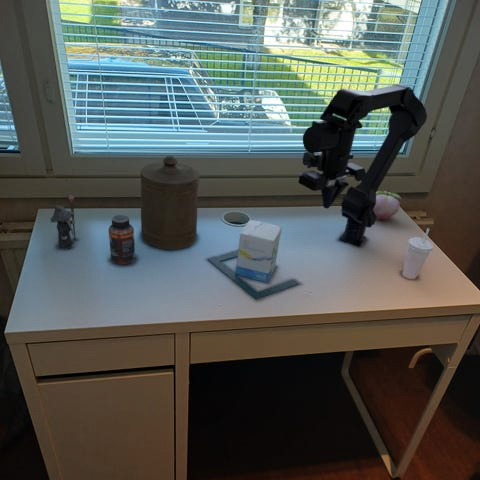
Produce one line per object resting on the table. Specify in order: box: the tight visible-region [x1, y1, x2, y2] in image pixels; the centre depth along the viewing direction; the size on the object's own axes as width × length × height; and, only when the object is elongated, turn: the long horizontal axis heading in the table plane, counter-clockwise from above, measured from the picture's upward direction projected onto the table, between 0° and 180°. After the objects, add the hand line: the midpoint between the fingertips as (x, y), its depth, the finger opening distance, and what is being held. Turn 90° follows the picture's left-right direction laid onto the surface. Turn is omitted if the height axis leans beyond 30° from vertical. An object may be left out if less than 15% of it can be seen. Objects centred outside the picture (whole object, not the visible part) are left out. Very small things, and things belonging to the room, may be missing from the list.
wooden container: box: [140, 155, 200, 250], centre depth 123 cm, size 15×15×22 cm
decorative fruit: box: [373, 189, 403, 220], centre depth 150 cm, size 9×8×10 cm
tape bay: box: [207, 250, 299, 300], centre depth 120 cm, size 14×20×1 cm
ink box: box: [235, 219, 283, 283], centre depth 117 cm, size 9×8×12 cm
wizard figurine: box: [49, 194, 76, 250], centre depth 118 cm, size 8×6×12 cm
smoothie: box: [401, 227, 434, 280], centre depth 122 cm, size 6×6×14 cm
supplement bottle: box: [108, 214, 136, 266], centre depth 115 cm, size 6×6×11 cm
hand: (325, 207), depth 124 cm, fingers closed
